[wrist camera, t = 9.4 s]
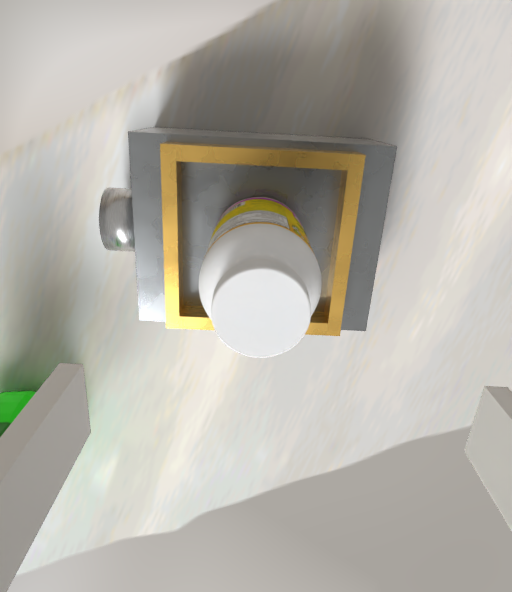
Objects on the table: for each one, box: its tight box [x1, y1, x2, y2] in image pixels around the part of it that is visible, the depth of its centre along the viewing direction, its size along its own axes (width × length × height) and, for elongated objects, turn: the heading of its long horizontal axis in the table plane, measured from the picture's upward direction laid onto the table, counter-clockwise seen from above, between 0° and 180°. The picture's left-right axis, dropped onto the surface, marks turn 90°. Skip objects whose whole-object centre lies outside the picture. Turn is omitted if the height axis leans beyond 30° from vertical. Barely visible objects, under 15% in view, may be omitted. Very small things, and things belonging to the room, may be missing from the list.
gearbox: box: [99, 127, 397, 336], centre depth 35 cm, size 21×14×10 cm, turn 87°
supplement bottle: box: [199, 197, 322, 358], centre depth 26 cm, size 7×7×13 cm
